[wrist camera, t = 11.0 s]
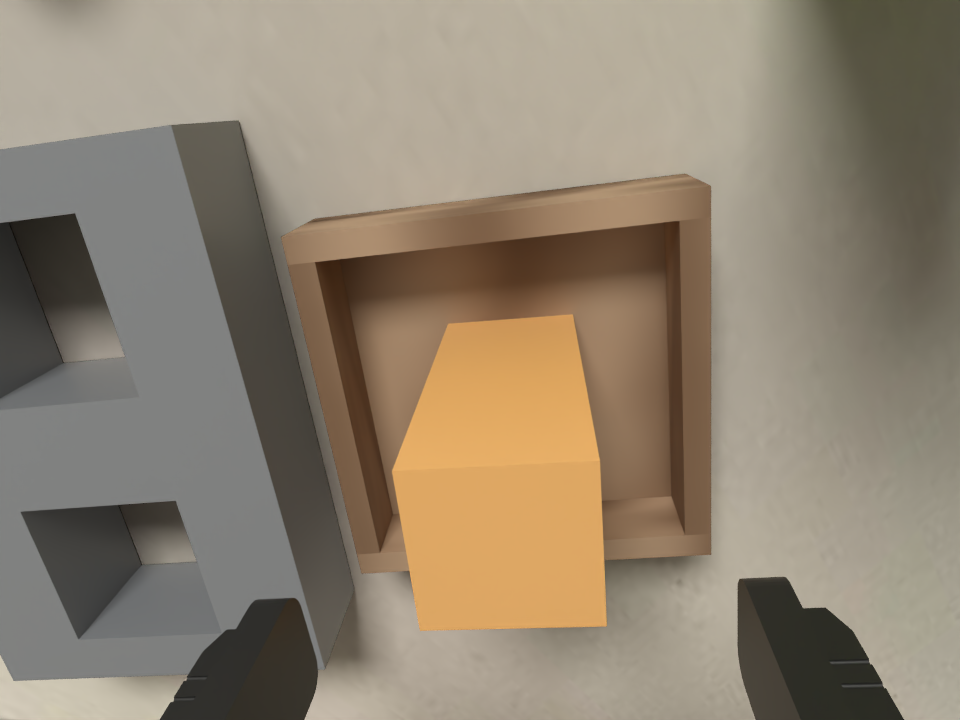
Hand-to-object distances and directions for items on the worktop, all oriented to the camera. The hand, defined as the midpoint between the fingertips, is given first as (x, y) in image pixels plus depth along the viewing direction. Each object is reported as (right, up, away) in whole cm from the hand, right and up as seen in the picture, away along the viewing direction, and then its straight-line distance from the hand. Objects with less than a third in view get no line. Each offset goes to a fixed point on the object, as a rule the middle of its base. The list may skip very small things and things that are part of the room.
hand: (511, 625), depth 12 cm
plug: (+1, +4, +10) cm, 11 cm away
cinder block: (-13, +3, +12) cm, 18 cm away
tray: (+1, +5, +10) cm, 11 cm away
